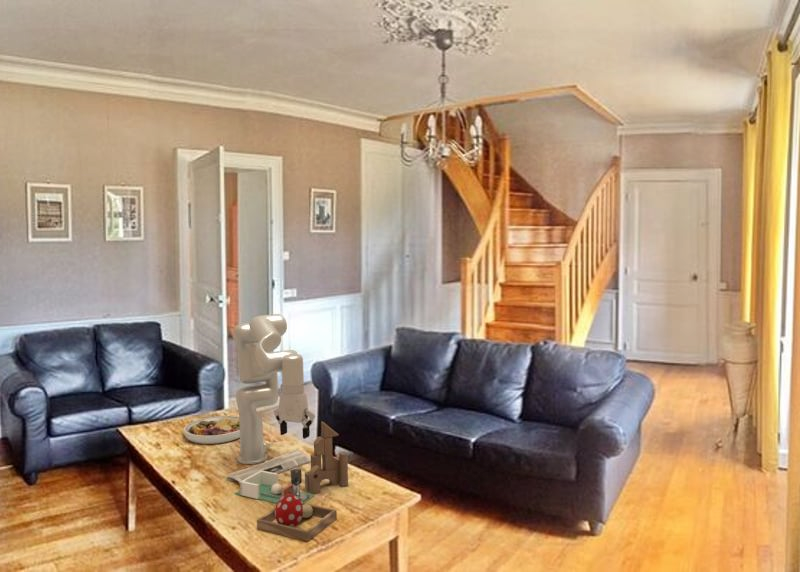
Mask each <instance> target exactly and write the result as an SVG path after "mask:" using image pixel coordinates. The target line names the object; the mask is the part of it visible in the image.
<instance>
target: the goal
mask: <svg viewBox="0 0 800 572" xmlns="http://www.w3.org/2000/svg"><path fill="white" fill-rule="evenodd" d="M278 477H279V474H277V473H272V472H267V471H262V470H260V471H259V472H257V473H255V474H253V475H251V476H250V477H248V478H246V479H244V480H242V481H241V482H239V483H240V485H239V490H240V495H239V496H241V495H243V497H246V496H247V497H246V498H250V497H252V498H251V499H255V498H256V500H259V499H258V498H259V485H261V484H263V485H268V486H273V485H274V484H276V483H278V484H279V478H278Z"/></svg>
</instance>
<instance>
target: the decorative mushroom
mask: <svg viewBox="0 0 800 572" xmlns="http://www.w3.org/2000/svg"><path fill="white" fill-rule="evenodd" d="M308 504H309V503H306V504H305V505H302V503H301V501H300V499H299V498H298V497H297V496H295V495H292V494H288V495H285V496H283V497H282V498H281V499H280V500H279V501H278V503H276V505H275V518H276V519H275V521H276V523H278V524H282V525H286V526H290V527H294V528H297V526H298V525H300V523H301V521H302V519H308V518H310V517H311V516H312V513H313V509H312V507H311V506H310V505H308Z"/></svg>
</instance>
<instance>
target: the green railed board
mask: <svg viewBox="0 0 800 572" xmlns="http://www.w3.org/2000/svg"><path fill="white" fill-rule="evenodd" d="M270 487H272V486H268V485H263V484H261V485H259V498H258V499H256V498H254V499H256V500H259V501H265V502H268V503H269V502H270V503H272V504H277V503H278V501H279V500H280V499H276V498H271V497H267V496H262V495H261V493H262V492H265V493H269V494H273V493H272V492H271V490H269V488H270ZM283 488H284V487H282V489H283ZM300 493H302V494H307V495H311V498H307V499H305V500H304V501H303V503H306V502H308V501H309V500H311V499H313V498H314V497H315V495H316V494H311V493H310V492H309V493H308V492H303V491H300ZM234 494H235V495H238V496H241V497H242V496H243V495H240V489H239V490H237V491H235V492H234ZM278 496H281V493H280V494H278ZM243 497H244V496H243ZM245 497H246V498H248V497H247V496H245ZM249 498H251V499H253V498H252V497H249Z"/></svg>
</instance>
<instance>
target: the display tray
mask: <svg viewBox="0 0 800 572" xmlns="http://www.w3.org/2000/svg"><path fill="white" fill-rule="evenodd" d="M301 503H302V502H301ZM305 504H308V505H310V506H311V507H312V509H313V513H312V515H313V516H317V517H320V518H321V519H320V520H318V521H317V522H316V523H315V524H313V525H312V526H310V528H308V529H302V528H299V527H295V528H294V527H290V526H286V525H282V524H278V522H274V520H276V518H275V508H276V507H275V508H273V509H271V510H270V511H269V512H267V513H265V514H264V515H262V516H261V517H259V518H258V519H256V528H257V530H261V531H264V532H268V533H272V534H275V535H276V534H277V535H280V536H283V537H288V538H291V539H296V540H300V541H303V542H309V541H311V540H312V539H313V538H315V537H316V536H317V535H318V534H319V533H321V532H322V531H324V529H326V528H327V527H328V526H329V525H331V524H332V523H333V522H334V521H335V520H337V509H332V508H327V507H323V506H319V505H314V504H310V503H306V502H305V503H302V505H305ZM312 515H311V516H312Z"/></svg>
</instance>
